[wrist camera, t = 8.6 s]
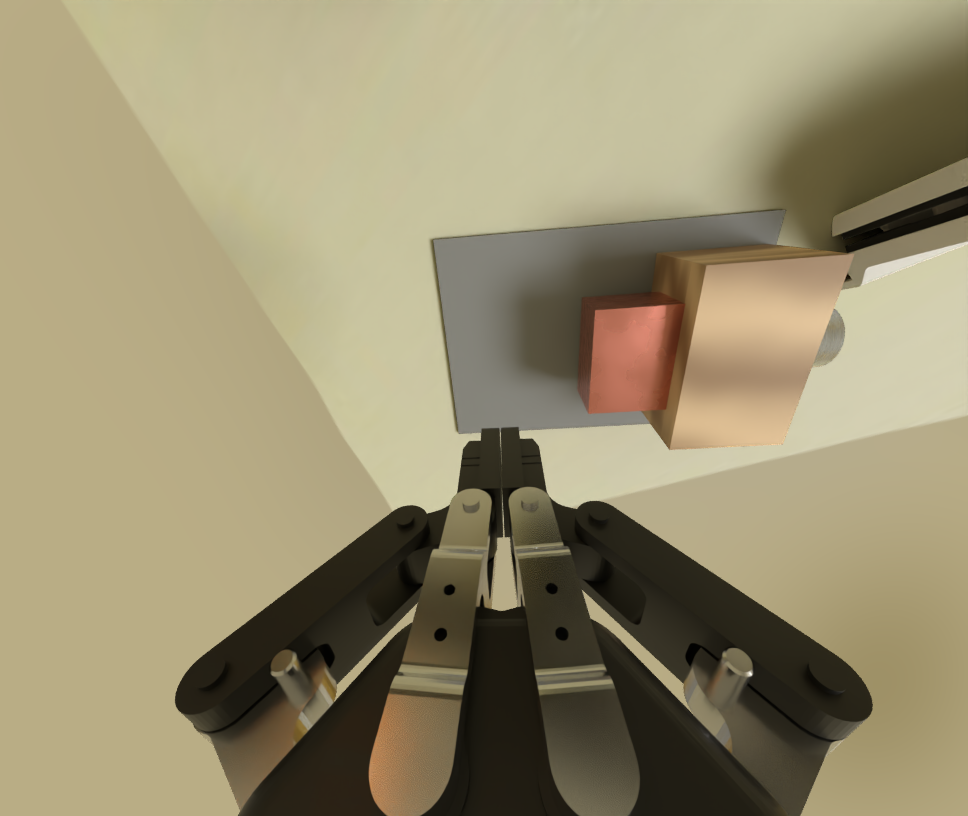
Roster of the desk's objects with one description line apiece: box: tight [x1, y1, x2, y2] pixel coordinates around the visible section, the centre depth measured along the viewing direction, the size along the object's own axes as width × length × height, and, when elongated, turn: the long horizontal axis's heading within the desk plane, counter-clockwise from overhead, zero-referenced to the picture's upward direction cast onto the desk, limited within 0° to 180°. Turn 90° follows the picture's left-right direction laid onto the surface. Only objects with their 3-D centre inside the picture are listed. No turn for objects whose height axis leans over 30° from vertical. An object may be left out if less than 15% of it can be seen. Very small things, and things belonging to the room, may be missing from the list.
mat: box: [433, 210, 786, 434], centre depth 27 cm, size 15×22×1 cm
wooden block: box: [641, 244, 854, 450], centre depth 23 cm, size 11×7×6 cm, turn 4°
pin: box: [577, 292, 845, 414], centre depth 24 cm, size 15×7×5 cm, turn 94°
